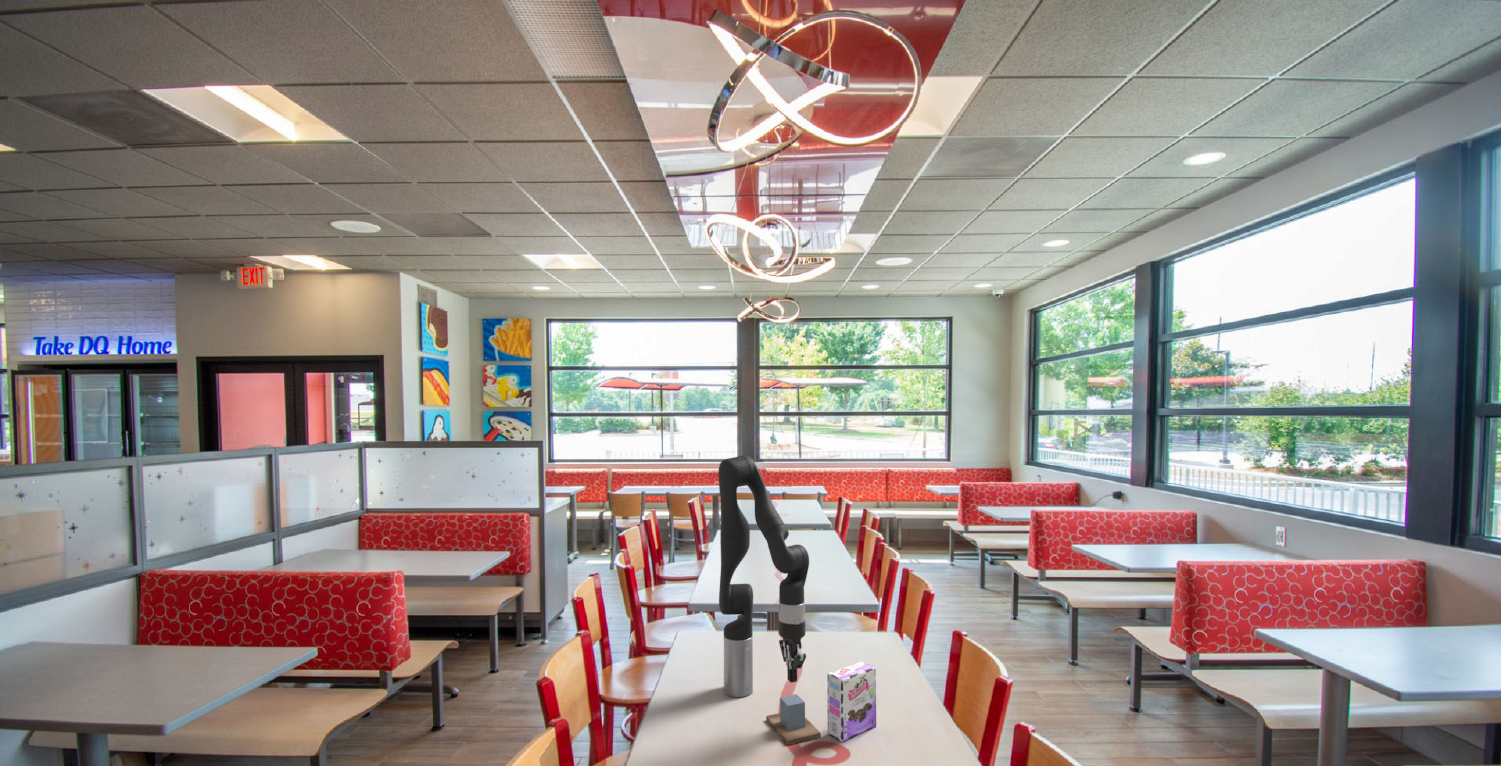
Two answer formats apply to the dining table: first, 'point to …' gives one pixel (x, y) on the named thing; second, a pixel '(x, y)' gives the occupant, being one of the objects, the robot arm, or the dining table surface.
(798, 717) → the blue-gray block
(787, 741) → the post stand
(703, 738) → the dining table surface
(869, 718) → the candy box
